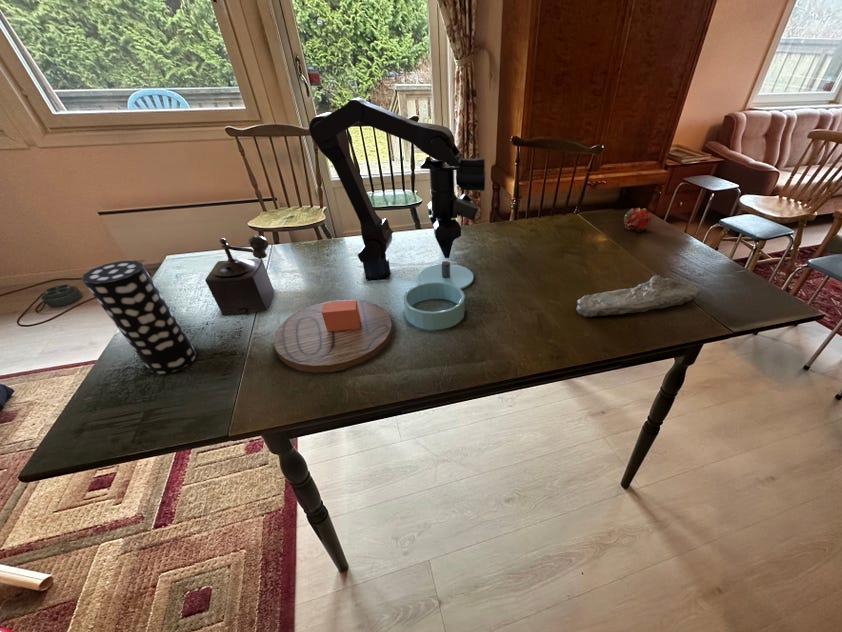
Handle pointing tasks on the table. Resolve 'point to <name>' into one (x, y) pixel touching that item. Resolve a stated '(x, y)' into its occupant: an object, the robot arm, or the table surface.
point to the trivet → (331, 339)
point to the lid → (447, 274)
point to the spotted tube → (141, 315)
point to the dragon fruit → (637, 219)
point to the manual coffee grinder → (241, 280)
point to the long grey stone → (637, 298)
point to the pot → (440, 317)
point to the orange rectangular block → (341, 315)
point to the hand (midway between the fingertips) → (444, 250)
